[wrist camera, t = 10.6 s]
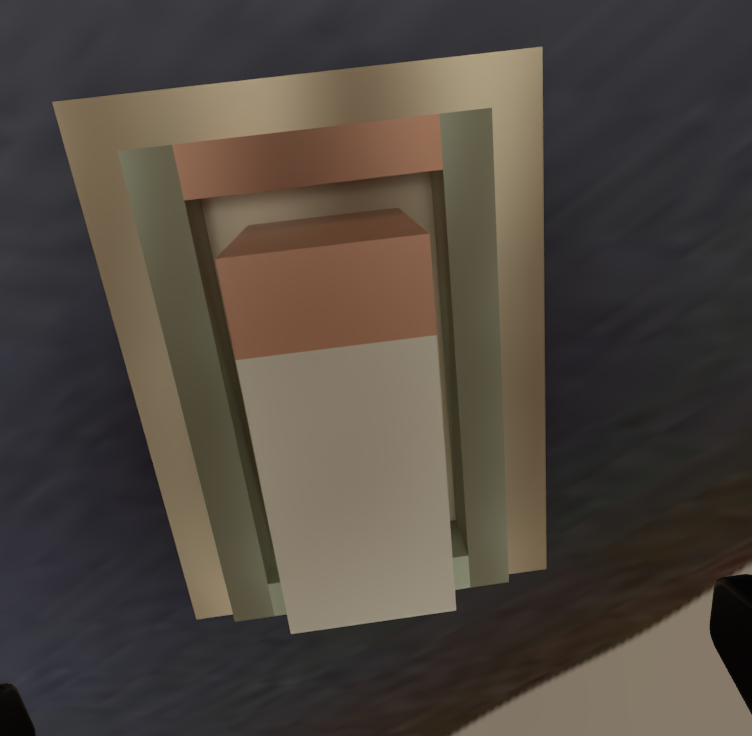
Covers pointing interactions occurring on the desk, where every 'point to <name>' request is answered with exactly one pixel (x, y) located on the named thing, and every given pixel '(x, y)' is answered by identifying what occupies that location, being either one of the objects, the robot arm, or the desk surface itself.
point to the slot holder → (316, 199)
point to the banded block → (344, 412)
